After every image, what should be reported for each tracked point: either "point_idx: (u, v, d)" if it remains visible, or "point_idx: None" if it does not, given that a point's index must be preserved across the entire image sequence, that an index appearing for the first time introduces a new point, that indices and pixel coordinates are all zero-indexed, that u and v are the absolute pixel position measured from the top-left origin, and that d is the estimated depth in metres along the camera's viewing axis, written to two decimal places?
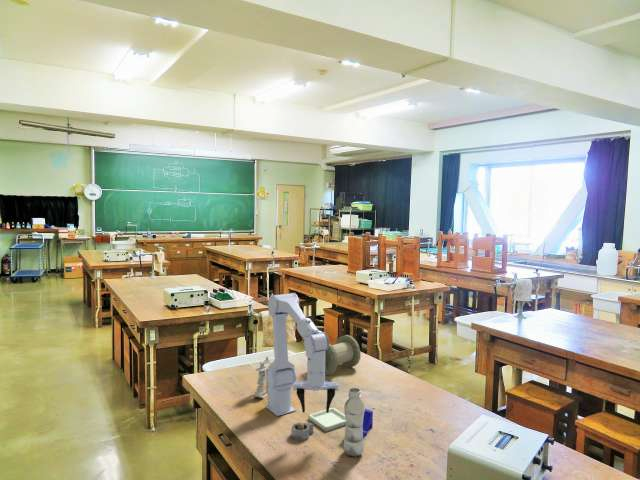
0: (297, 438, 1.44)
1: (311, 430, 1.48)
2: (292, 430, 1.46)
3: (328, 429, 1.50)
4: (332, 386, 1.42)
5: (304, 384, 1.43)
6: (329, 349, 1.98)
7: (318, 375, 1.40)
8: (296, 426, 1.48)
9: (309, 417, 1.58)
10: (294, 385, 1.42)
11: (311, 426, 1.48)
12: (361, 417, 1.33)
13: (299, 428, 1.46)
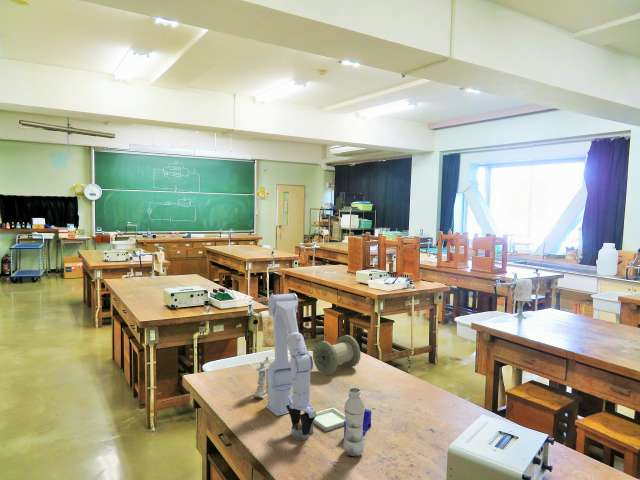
0: (297, 438, 1.44)
1: (311, 430, 1.48)
2: (292, 430, 1.46)
3: (328, 429, 1.50)
4: (306, 411, 1.41)
5: None
6: (329, 349, 1.98)
7: (295, 394, 1.44)
8: (296, 426, 1.48)
9: None
10: (287, 397, 1.51)
11: (311, 426, 1.48)
12: (361, 417, 1.33)
13: (299, 428, 1.46)
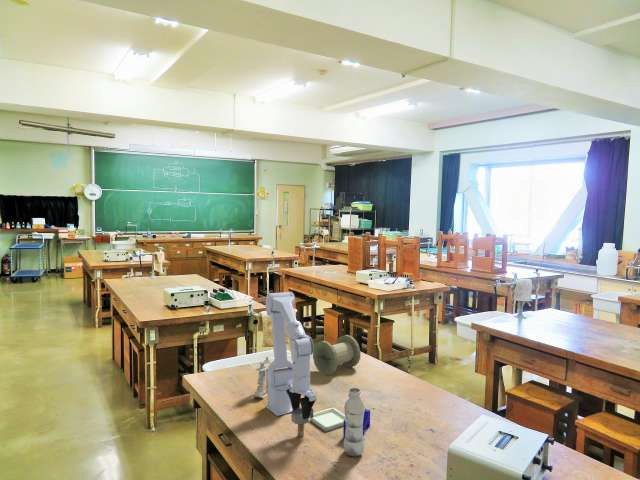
0: (297, 422, 1.44)
1: (311, 415, 1.48)
2: (292, 414, 1.45)
3: (328, 429, 1.50)
4: (306, 394, 1.41)
5: None
6: (329, 349, 1.98)
7: (295, 378, 1.43)
8: (296, 411, 1.48)
9: None
10: (288, 381, 1.51)
11: (311, 411, 1.48)
12: (361, 417, 1.33)
13: (299, 428, 1.46)
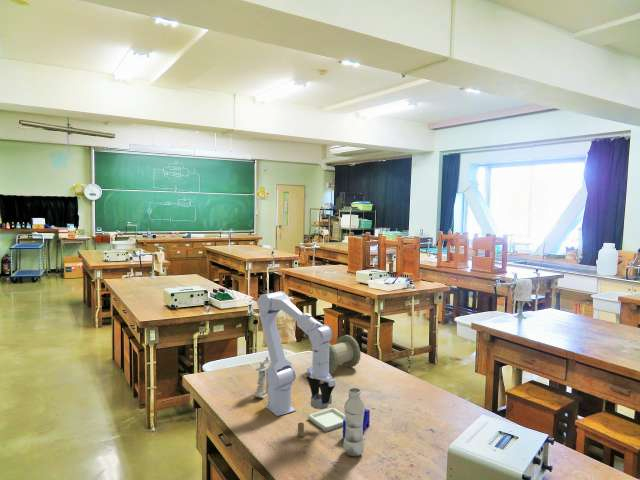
0: (316, 407, 1.50)
1: (329, 401, 1.54)
2: (311, 399, 1.52)
3: (328, 429, 1.50)
4: (326, 380, 1.47)
5: None
6: (329, 349, 1.98)
7: (315, 365, 1.50)
8: (315, 396, 1.54)
9: (309, 417, 1.58)
10: (307, 368, 1.57)
11: (330, 397, 1.54)
12: (361, 417, 1.33)
13: (299, 428, 1.46)
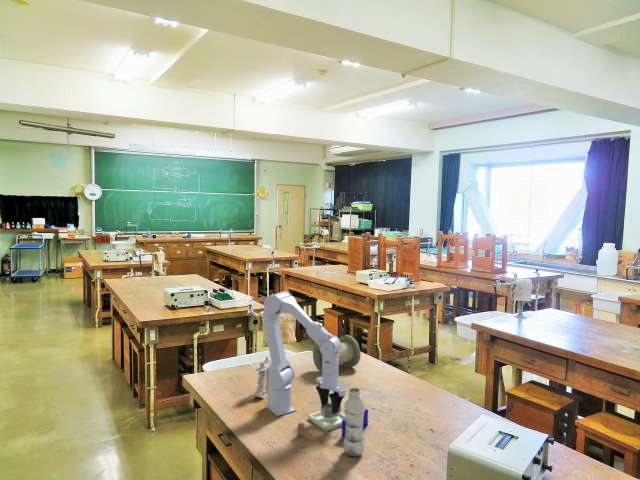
0: (326, 416, 1.54)
1: (339, 410, 1.58)
2: (322, 409, 1.56)
3: (328, 429, 1.50)
4: (336, 390, 1.51)
5: None
6: None
7: (325, 375, 1.54)
8: (325, 406, 1.58)
9: (309, 417, 1.58)
10: (316, 378, 1.61)
11: None
12: (361, 417, 1.33)
13: (299, 428, 1.46)
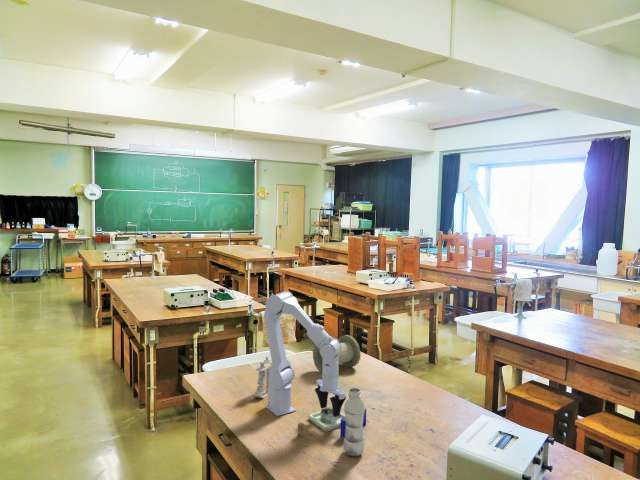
0: (326, 422, 1.54)
1: None
2: (321, 414, 1.56)
3: (328, 429, 1.50)
4: (336, 393, 1.51)
5: None
6: None
7: (325, 378, 1.54)
8: (324, 411, 1.58)
9: (309, 417, 1.58)
10: (316, 381, 1.61)
11: None
12: (361, 417, 1.33)
13: (299, 428, 1.46)
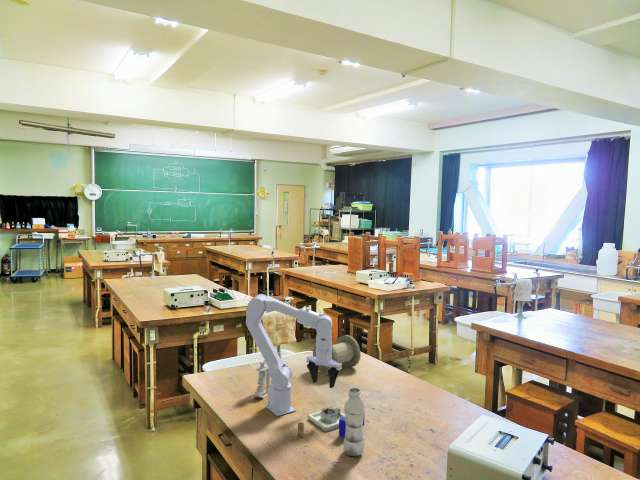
0: (326, 422, 1.54)
1: (338, 415, 1.58)
2: (321, 414, 1.56)
3: (328, 429, 1.50)
4: (333, 365, 1.59)
5: (315, 359, 1.65)
6: None
7: (321, 352, 1.60)
8: (324, 411, 1.58)
9: (309, 417, 1.58)
10: (307, 358, 1.66)
11: (338, 411, 1.58)
12: (361, 417, 1.33)
13: (299, 428, 1.46)
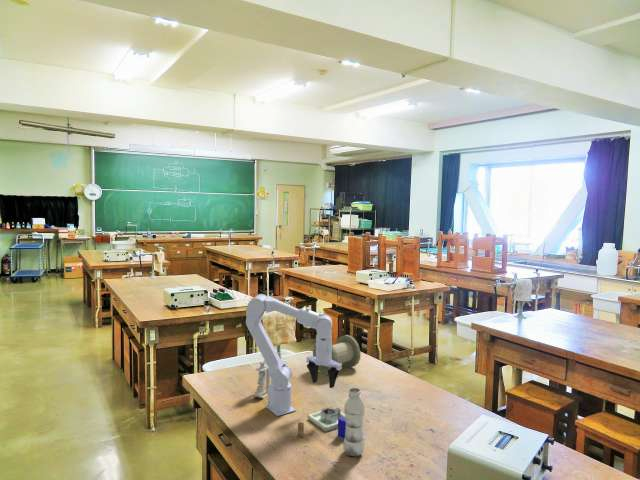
0: (326, 422, 1.54)
1: (338, 415, 1.58)
2: (321, 414, 1.56)
3: (328, 429, 1.50)
4: (333, 365, 1.59)
5: (315, 359, 1.65)
6: None
7: (321, 352, 1.60)
8: (324, 411, 1.58)
9: (309, 417, 1.58)
10: (307, 358, 1.66)
11: (338, 411, 1.58)
12: (361, 417, 1.33)
13: (299, 428, 1.46)
